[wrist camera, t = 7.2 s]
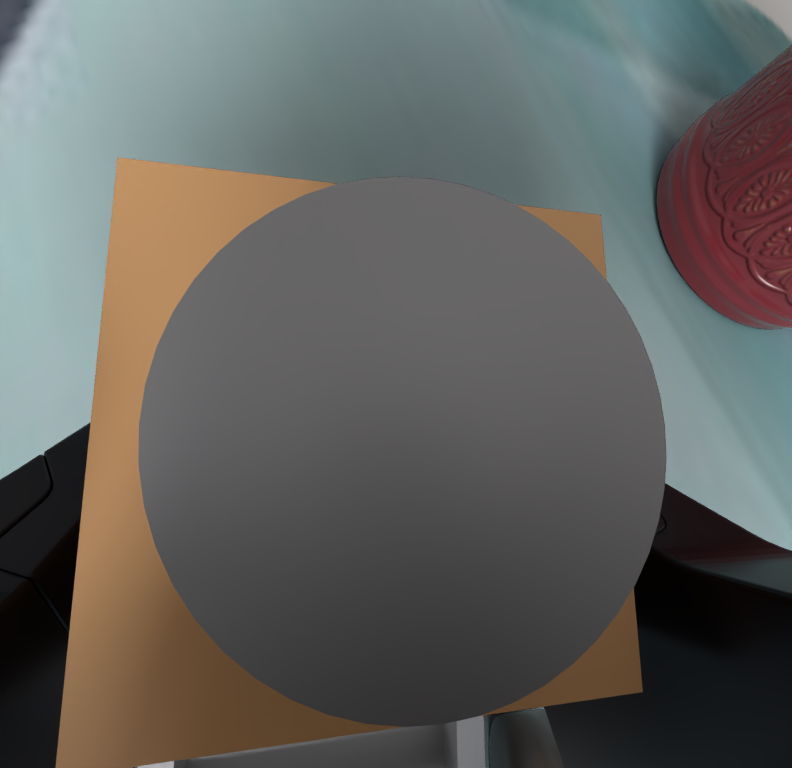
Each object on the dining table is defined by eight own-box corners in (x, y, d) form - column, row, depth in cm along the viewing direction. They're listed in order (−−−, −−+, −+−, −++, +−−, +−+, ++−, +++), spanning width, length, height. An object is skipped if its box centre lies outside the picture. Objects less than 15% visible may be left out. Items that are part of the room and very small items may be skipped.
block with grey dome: (394, 511, 16) (829, 827, 3) (255, 517, 15) (-176, 1078, 2) (393, 379, 16) (727, 114, 3) (261, 376, 15) (-1, -24, 2)
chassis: (529, 846, 17) (620, 1009, 12) (54, 950, 13) (-90, 1237, 8) (505, 325, 20) (569, 285, 15) (115, 303, 16) (35, 243, 12)
